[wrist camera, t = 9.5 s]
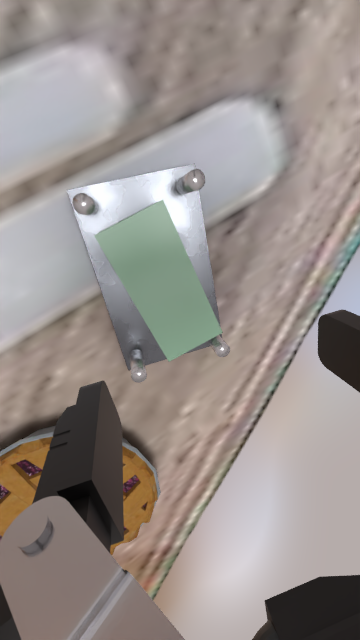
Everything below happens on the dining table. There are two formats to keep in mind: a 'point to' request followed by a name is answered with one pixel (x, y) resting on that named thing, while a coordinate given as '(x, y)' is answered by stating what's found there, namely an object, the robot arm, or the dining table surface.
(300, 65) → the dining table surface
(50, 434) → the pie
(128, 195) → the chassis
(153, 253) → the board
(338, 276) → the dining table surface
